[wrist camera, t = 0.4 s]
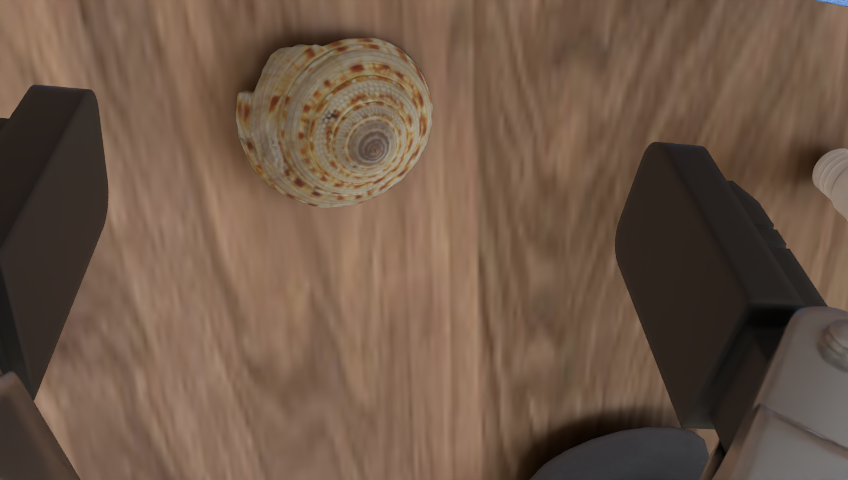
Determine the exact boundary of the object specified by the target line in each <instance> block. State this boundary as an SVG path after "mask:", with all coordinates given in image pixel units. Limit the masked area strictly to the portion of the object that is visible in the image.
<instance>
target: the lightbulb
mask: <svg viewBox="0 0 848 480" xmlns="http://www.w3.org/2000/svg"><path fill="white" fill-rule="evenodd" d="M812 179H813V183H814V185H815V186H816V187H817V188H818V189H819V190H821V192H822V193H823V194H825V195H826V196H827V197H828V198H830V199H831V202H832V204H833V206H834V207H835V209H836V210H837V211H838V212H839V213H841V214H842V215H843V216H844V217H845V218H846V220H847V221H848V149H845V148H839V149H835V150H832V151H830V152H827V153H826V154H825V155H823V156H822V157H821V158H820V159H819V160H818V162H817V163H816V165H815V167H814V169H813V176H812Z"/></svg>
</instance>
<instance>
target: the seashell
mask: <svg viewBox="0 0 848 480" xmlns="http://www.w3.org/2000/svg"><path fill="white" fill-rule="evenodd" d="M432 110H433V108H432V101H431V97H430V92H429V89H428V86H427V84H426V81H425V79H424V77H423V75H422V73H421V71H420V70H419V68H418V67H417V66H416V64H415V63H414V62H413V61H412V60H411V59H410V58H409V57H408V56H407V55H406V54H405V53H404V52H403V51H402V50H400V49H399V48H398V47H396V46H394V45H392V44H390V43H388V42H385V41H383V40H380V39H376V38H371V37H364V38H353V39H345V40H339V41H336V42H333V43H330V44H328V45H325V46H319V45H316V44H315V45H311V46H308V45H302V44H298V45H296V46H294V47H284V48H280V49H278V50H277V51H275V52H274V53H273V54H272V55H270V57H269V59H268V61H267V63H266V65H265V66H264V67H263V70H262V74H261V77H260V79H259V81H258V83H257V86H256V89H255V91H254V92H250V91H248V90H246V91H244V92H239V94H238V97H237V107H236V123H237V126H238V137H239V140H240V142H241V144H242V146H243V149H244V152H245V153H246V156H247V158H248V160H249V162H250V164H251V166H252V167H253V169H254V170H255V171H256V172H257V174H258V175H259V176H260V177H261V178H262V179H263V180H264V181H265V182H267V183H268V184H269V185H270V186H271V187H273V188H274V189H276V190H277V191H279V192H281V193H282V194H284V195H286V196H287V197H290V198H292V199H294V200H297V201H300V202H303V203H306V204H309V205H312V206H316V207H341V206H349V205H354V204H358V203H361V202H364V201H367V200H370V199H372V198H374V197H376V196H378V195H380V194H382V193H384V192H386V191H387V190H389V189H390V188H392V187H393V186H394V185H396V184H397V183H398V182H400V181H401V180H402V179H403V178H404V177H405V176H406V175H407V174H408V173H409V172H410V170H411V169H412V168H413V167H414V166H415V164H416V163H417V161H418V160H419V158H420V156H421V155H422V153H423V151H424V149H425V147H426V145H427V142H428V138H429V135H430V131H431V126H432Z"/></svg>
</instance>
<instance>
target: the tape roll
mask: <svg viewBox="0 0 848 480" xmlns="http://www.w3.org/2000/svg"><path fill="white" fill-rule="evenodd" d="M817 1H822V2H827V3H831V4H836V5H841V6H846V7H848V0H817Z"/></svg>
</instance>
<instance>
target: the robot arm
mask: <svg viewBox="0 0 848 480" xmlns="http://www.w3.org/2000/svg"><path fill="white" fill-rule="evenodd" d="M107 208H108V180H107V172H106V164H105V156H104V148H103V140H102V132H101V124H100V116H99V108H98V103H97V99H96V96H95V94H94V92H93V91H92V90H89V89H78V88H67V87H56V86H45V85H33V86H31V87H30V88H29V90H28V91H27V93H26V94H25V96H24V97H23V99H22V100H21V102H20V103H19V105H18V106H17V108H16V109H15V111H14V112H13V114H12V115H11V117H10V118H9V119H7V118H0V480H80V478H79V477H78V475H77V473H76V472H75V470H74V468H73V467H72V465H71V463H70V462H69V460H68V458H67V457H66V455H65V453H64V452H63V450H62V448H61V447H60V445H59V443H58V442H57V440H56V438H55V437H54V435H53V433H52V432H51V430H50V428H49V427H48V425H47V423H46V422H45V420H44V418H43V417H42V415H41V413H40V412H39V410H38V408H37V407H36V405H35V403H34V402H33V401H34V399H35V397H36V394H37V392H38V389H39V387H40V384H41V382H42V379H43V377H44V374H45V372H46V369H47V367H48V364H49V362H50V359H51V357H52V354H53V352H54V349H55V347H56V344H57V342H58V339H59V337H60V334H61V332H62V329H63V327H64V324H65V322H66V319H67V317H68V314H69V312H70V309H71V307H72V304H73V302H74V299H75V297H76V294H77V292H78V289H79V287H80V284H81V282H82V279H83V277H84V274H85V272H86V269H87V267H88V264H89V262H90V259H91V257H92V254H93V252H94V249H95V247H96V244H97V242H98V239H99V237H100V234H101V232H102V230H103V227H104V224H105V220H106V215H107ZM773 227H774V225H773V223H772V222H771V220H770V219H769V217H768V216H767V214H766V213H765V211H764V210H763V208H762V207H761V205H760V203H759V202H758V201H757V200H755V199H754V198H753V197H752V196H750V195H749V194H748V193H747V192H745V191H744V190H743V189H742V188H741V187H739V186H738V185H737V184H736V183H734V182H733V181H726V179H725V178H724V176H723V174H722V173H721V171H720V170H719V168H718V167H717V165H716V163H715V162H714V160H713V159H712V157H711V155H710V154H709V152H708V151H707V150H706V148H704V147H702V146H695V145H684V144H673V143H662V142H653V143H652V144H650V145H649V146H648V148H647V149H646V151H645V153H644V155H643V157H642V160H641V163H640V165H639V168H638V171H637V173H636V176H635V179H634V182H633V184H632V187H631V190H630V193H629V195H628V198H627V201H626V203H625V206H624V209H623V212H622V214H621V217H620V220H619V223H618V226H617V231H616V238H615V253H616V259H617V263H618V266H619V268H620V271H621V273H622V276H623V279H624V281H625V284H626V286H627V289H628V291H629V294H630V297H631V299H632V302H633V304H634V307H635V309H636V312H637V314H638V317H639V320H640V322H641V325H642V327H643V330H644V332H645V335H646V338H647V340H648V343H649V345H650V348H651V350H652V353H653V356H654V358H655V361H656V363H657V366H658V368H659V371H660V373H661V376H662V379H663V381H664V384H665V386H666V389H667V391H668V394H669V397H670V399H671V402H672V404H673V407H674V409H675V412H676V415H677V417H678V420H679V422H680V425H681V427H682V428H699V429H715V430H716V432H717V435H718V437H719V439H720V440H719V441H718V443H717V445H716V446H715V448H714V450H713V451H712V453H711V455H710V457H709V459H708V461H707V463H706V466H705V468H704V470H703V472H702V474H701V477H700V479H699V480H848V312H846V311H843V310H840V309H836V308H831V307H828V306H827V305H826V303H825V302H824V300H823V299H822V297H821V296H820V294H819V293H818V291H817V290H816V288H815V287H814V285H813V284H812V282H811V281H810V279H809V278H808V276H807V275H806V273H805V272H804V270H803V269H802V267H801V265H800V264H799V262H798V261H797V259H796V258H795V256H794V255H793V253H792V252H791V250H790V249H786V243H785V241H784V240H783V238H782V237H781V235H780V234H779V232H778V231H777V230H774V229H773Z"/></svg>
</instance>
